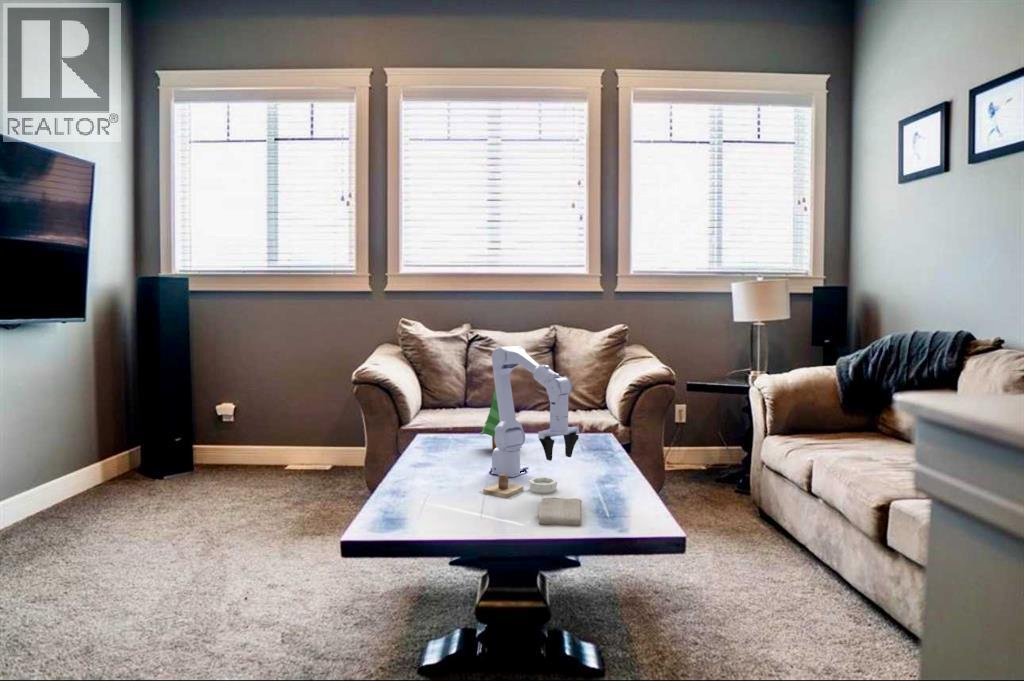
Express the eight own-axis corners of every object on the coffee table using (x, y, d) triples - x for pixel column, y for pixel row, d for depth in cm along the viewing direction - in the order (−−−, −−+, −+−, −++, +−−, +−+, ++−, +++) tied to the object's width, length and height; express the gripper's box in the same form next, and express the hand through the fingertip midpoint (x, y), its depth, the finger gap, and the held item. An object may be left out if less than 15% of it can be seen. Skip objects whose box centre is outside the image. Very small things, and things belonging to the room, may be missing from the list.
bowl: (524, 492, 200) (524, 481, 200) (538, 485, 207) (538, 475, 207) (548, 496, 195) (548, 486, 195) (561, 489, 202) (561, 479, 202)
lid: (483, 492, 197) (483, 476, 197) (499, 485, 205) (499, 469, 204) (507, 497, 192) (507, 480, 192) (523, 490, 200) (523, 473, 199)
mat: (478, 494, 197) (478, 492, 197) (496, 486, 206) (496, 484, 206) (510, 501, 191) (510, 499, 191) (528, 492, 199) (528, 490, 199)
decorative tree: (472, 449, 256) (471, 374, 254) (501, 443, 266) (501, 371, 264) (494, 455, 246) (493, 378, 244) (523, 449, 256) (523, 374, 254)
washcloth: (581, 505, 188) (581, 495, 188) (582, 527, 170) (582, 516, 170) (540, 504, 189) (540, 494, 189) (538, 526, 171) (538, 515, 171)
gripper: (547, 420, 194) (547, 464, 195) (585, 415, 202) (584, 457, 203) (534, 416, 200) (534, 459, 201) (571, 411, 207) (571, 453, 208)
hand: (558, 458), depth 202 cm, fingers open, 7 cm apart
